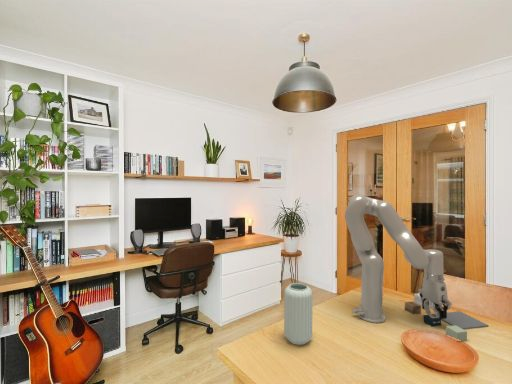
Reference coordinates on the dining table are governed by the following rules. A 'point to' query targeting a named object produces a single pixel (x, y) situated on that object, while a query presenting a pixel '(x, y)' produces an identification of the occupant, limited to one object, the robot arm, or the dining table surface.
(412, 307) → the walnut block
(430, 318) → the watch
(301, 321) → the vase
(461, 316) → the slate mat
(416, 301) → the small box
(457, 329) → the sage block
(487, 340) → the dining table surface
